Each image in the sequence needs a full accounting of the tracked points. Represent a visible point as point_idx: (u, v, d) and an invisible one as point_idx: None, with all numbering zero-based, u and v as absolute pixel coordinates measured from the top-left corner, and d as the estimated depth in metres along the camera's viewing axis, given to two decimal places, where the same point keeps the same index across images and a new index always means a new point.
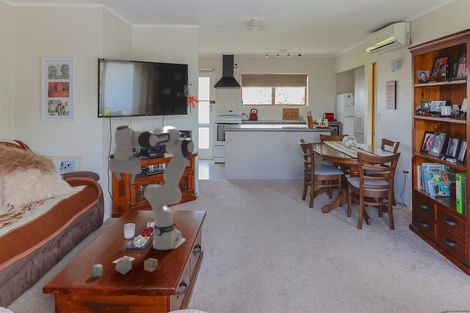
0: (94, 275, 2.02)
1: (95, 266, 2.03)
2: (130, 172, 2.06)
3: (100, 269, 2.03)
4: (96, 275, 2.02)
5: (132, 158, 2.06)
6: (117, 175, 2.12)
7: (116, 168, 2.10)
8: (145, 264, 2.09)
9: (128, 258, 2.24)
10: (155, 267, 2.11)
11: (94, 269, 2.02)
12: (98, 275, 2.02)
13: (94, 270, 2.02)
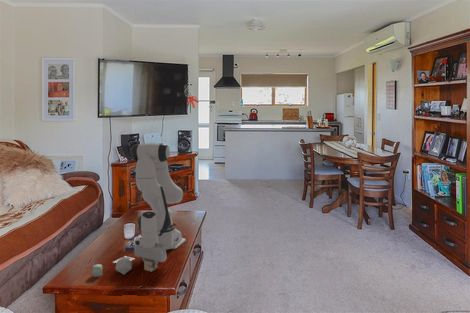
0: (94, 275, 2.02)
1: (95, 266, 2.03)
2: (156, 259, 2.06)
3: (100, 269, 2.03)
4: (97, 274, 2.02)
5: (158, 245, 2.06)
6: (144, 260, 2.12)
7: (141, 253, 2.11)
8: (145, 264, 2.09)
9: (128, 258, 2.24)
10: None
11: (94, 269, 2.02)
12: (98, 275, 2.02)
13: (94, 270, 2.02)
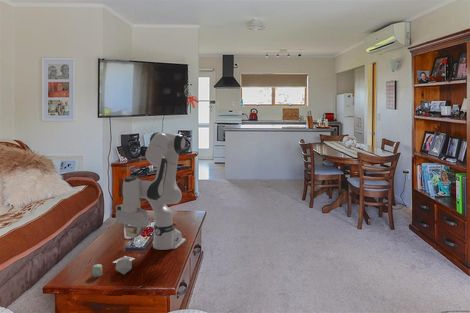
0: (94, 275, 2.02)
1: (95, 266, 2.03)
2: (138, 225, 2.00)
3: (100, 269, 2.03)
4: (97, 274, 2.02)
5: (140, 210, 2.00)
6: None
7: (123, 219, 2.05)
8: (127, 230, 2.03)
9: (128, 258, 2.24)
10: None
11: (94, 269, 2.01)
12: (98, 275, 2.02)
13: (94, 270, 2.02)
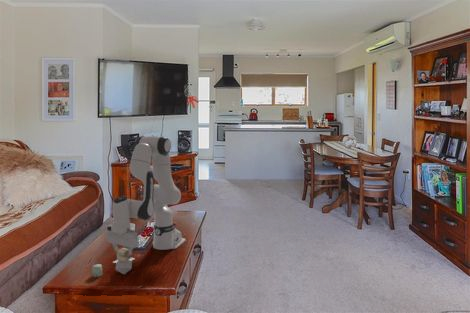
0: (95, 275, 2.02)
1: (95, 266, 2.03)
2: (128, 245, 2.01)
3: (100, 268, 2.03)
4: (97, 274, 2.02)
5: (130, 231, 2.01)
6: (114, 246, 2.07)
7: (113, 240, 2.05)
8: (117, 254, 2.04)
9: None
10: (128, 257, 2.05)
11: (94, 269, 2.01)
12: (99, 275, 2.02)
13: (95, 270, 2.02)
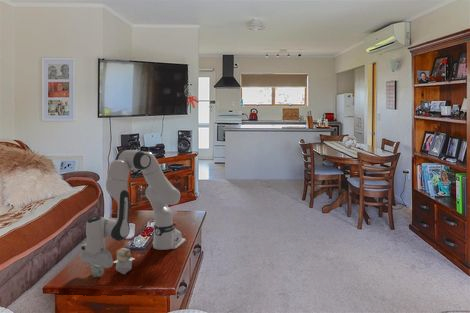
0: (96, 275, 2.02)
1: (95, 266, 2.03)
2: (101, 265, 1.99)
3: None
4: (99, 274, 2.02)
5: (103, 251, 1.99)
6: (91, 266, 2.05)
7: (87, 259, 2.04)
8: (117, 254, 2.04)
9: None
10: (128, 257, 2.05)
11: (96, 269, 2.01)
12: (100, 274, 2.03)
13: (96, 270, 2.02)
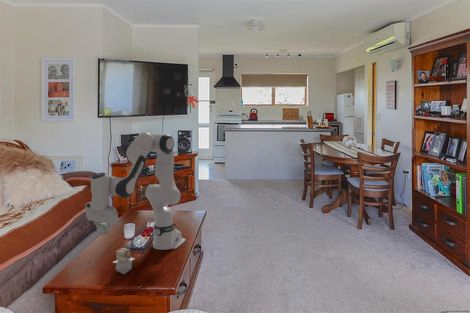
0: (101, 233, 2.00)
1: (101, 224, 2.01)
2: (107, 222, 1.97)
3: None
4: (104, 232, 2.00)
5: (109, 208, 1.97)
6: (97, 224, 2.03)
7: (93, 217, 2.02)
8: (117, 254, 2.04)
9: None
10: (128, 257, 2.05)
11: (101, 226, 1.99)
12: (105, 232, 2.01)
13: (101, 227, 1.99)
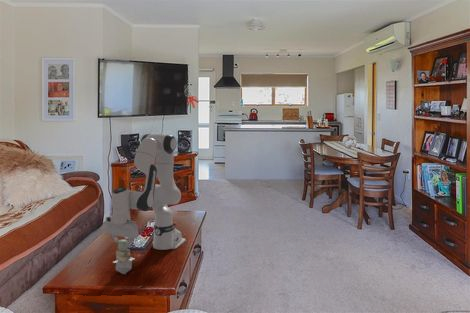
0: (121, 250, 2.03)
1: (120, 241, 2.04)
2: (127, 236, 2.00)
3: (126, 243, 2.05)
4: (124, 249, 2.03)
5: (129, 222, 2.00)
6: (114, 237, 2.07)
7: (113, 231, 2.05)
8: (117, 254, 2.04)
9: None
10: (127, 257, 2.05)
11: (121, 244, 2.03)
12: (125, 249, 2.04)
13: (121, 245, 2.03)
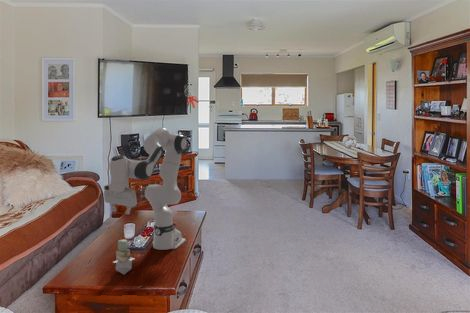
0: (121, 250, 2.03)
1: (120, 241, 2.04)
2: (126, 204, 1.97)
3: (126, 243, 2.05)
4: (124, 249, 2.03)
5: (128, 190, 1.97)
6: (112, 206, 2.04)
7: (111, 199, 2.02)
8: (117, 254, 2.04)
9: None
10: (127, 257, 2.05)
11: (121, 244, 2.03)
12: (125, 249, 2.04)
13: (121, 245, 2.03)
